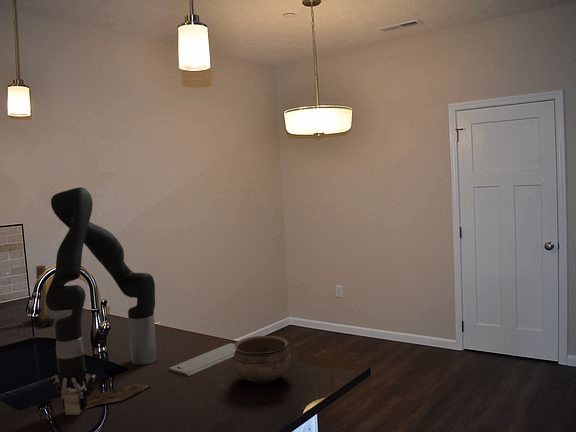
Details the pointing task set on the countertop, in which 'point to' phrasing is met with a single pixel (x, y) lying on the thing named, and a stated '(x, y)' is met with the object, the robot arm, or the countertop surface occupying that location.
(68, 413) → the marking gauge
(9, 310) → the countertop surface
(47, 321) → the hammer
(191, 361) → the baseboard molding
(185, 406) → the countertop surface
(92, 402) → the wooden fragment
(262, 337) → the cooking pot
